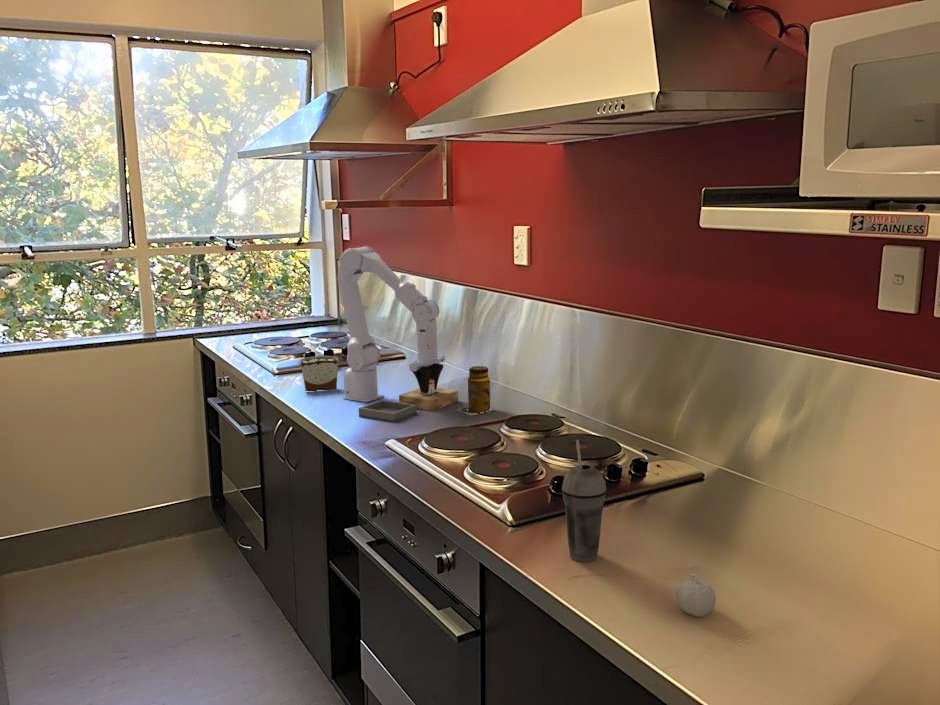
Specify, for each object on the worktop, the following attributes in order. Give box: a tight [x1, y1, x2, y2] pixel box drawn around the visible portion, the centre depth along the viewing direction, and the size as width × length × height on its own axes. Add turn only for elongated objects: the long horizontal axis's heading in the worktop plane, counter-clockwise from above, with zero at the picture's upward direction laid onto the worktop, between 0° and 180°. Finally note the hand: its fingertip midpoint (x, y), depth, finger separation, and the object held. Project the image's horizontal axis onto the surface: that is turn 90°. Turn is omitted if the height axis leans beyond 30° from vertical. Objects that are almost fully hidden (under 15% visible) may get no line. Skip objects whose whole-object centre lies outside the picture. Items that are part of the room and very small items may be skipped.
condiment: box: [456, 365, 491, 417], centre depth 220 cm, size 7×8×12 cm
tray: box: [358, 399, 418, 423], centre depth 218 cm, size 12×10×2 cm
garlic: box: [675, 572, 717, 618], centre depth 114 cm, size 6×5×5 cm
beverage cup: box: [561, 439, 608, 563], centre depth 130 cm, size 7×7×20 cm
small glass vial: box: [423, 378, 435, 396], centre depth 229 cm, size 3×3×7 cm
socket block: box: [398, 387, 459, 412], centre depth 229 cm, size 12×12×3 cm
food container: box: [298, 355, 341, 392], centre depth 248 cm, size 12×6×10 cm, turn 108°
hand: (428, 391), depth 229 cm, fingers closed on small glass vial, 3 cm apart
